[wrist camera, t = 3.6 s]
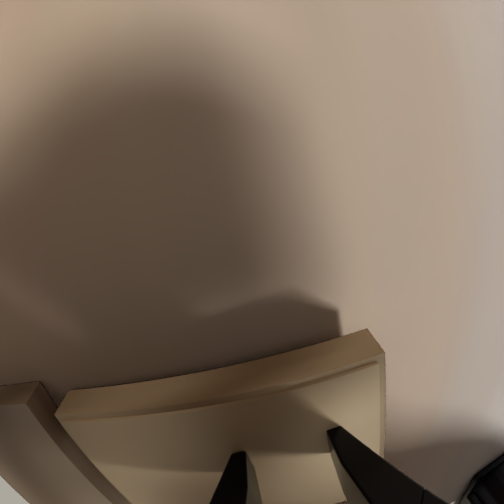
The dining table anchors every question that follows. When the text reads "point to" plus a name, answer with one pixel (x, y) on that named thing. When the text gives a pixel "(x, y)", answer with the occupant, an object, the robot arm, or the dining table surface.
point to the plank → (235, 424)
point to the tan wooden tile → (45, 453)
